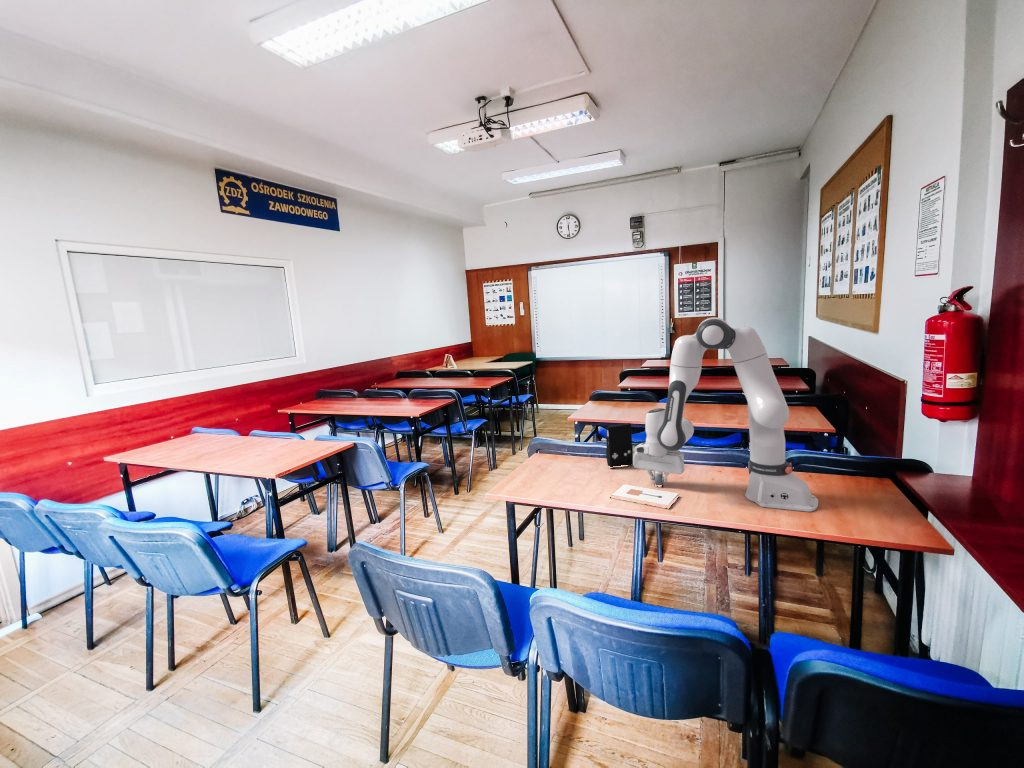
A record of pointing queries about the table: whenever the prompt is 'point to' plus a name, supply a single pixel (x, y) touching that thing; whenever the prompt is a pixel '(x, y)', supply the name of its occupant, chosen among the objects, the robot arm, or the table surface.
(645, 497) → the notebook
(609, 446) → the handheld gaming console
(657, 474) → the white-topped grey cylinder
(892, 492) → the table surface
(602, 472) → the table surface
